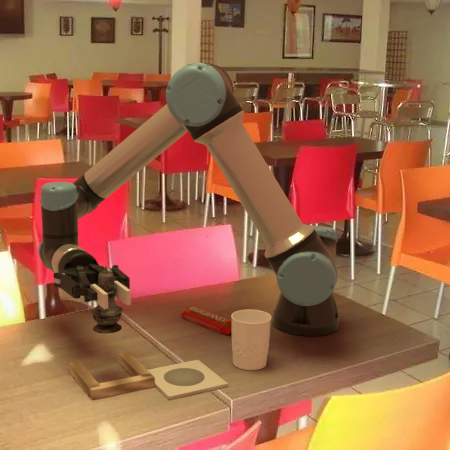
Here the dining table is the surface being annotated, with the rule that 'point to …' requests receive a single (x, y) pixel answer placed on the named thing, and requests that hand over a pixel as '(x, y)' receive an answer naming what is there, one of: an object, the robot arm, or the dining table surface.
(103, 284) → the salt shaker
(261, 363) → the white cup
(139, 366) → the block
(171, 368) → the cream square board
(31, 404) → the dining table surface
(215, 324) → the candy bar
